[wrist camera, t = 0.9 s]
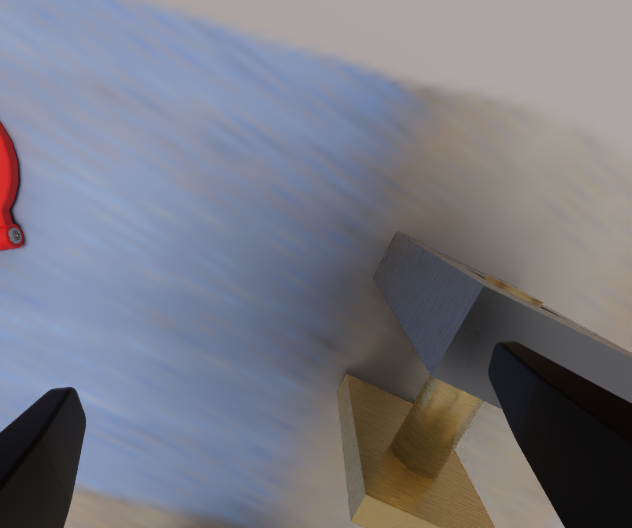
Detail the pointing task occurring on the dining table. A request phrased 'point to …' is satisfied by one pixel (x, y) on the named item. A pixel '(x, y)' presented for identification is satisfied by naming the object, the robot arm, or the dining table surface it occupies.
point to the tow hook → (8, 193)
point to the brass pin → (410, 453)
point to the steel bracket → (485, 323)
